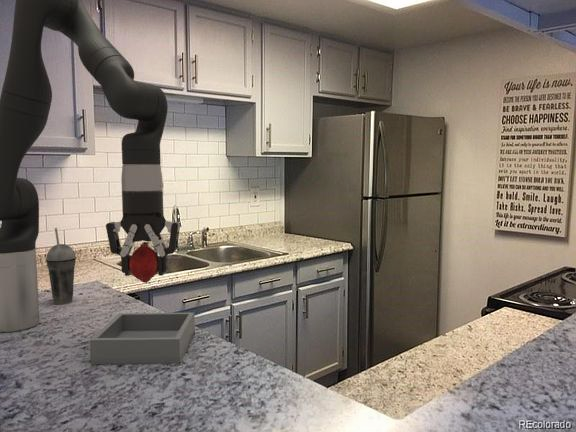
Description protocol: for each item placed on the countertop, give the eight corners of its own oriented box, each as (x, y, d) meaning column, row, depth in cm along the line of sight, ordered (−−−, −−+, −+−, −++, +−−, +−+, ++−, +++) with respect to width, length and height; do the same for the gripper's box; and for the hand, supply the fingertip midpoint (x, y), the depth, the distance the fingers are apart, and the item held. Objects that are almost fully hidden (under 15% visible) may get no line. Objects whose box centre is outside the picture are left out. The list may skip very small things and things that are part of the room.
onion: (151, 286, 88) (150, 244, 87) (123, 285, 89) (122, 244, 88) (165, 279, 94) (164, 240, 93) (139, 278, 95) (137, 239, 94)
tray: (90, 364, 84) (89, 340, 84) (119, 333, 100) (119, 313, 100) (180, 363, 85) (179, 339, 84) (194, 332, 101) (194, 312, 100)
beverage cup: (84, 300, 126) (81, 226, 124) (61, 307, 120) (57, 229, 118) (64, 297, 129) (61, 225, 127) (41, 304, 123) (37, 228, 121)
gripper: (97, 189, 86) (100, 279, 87) (176, 189, 86) (178, 279, 88) (111, 188, 93) (114, 271, 95) (183, 187, 94) (185, 270, 95)
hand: (145, 274), depth 91 cm, fingers closed on onion, 6 cm apart
